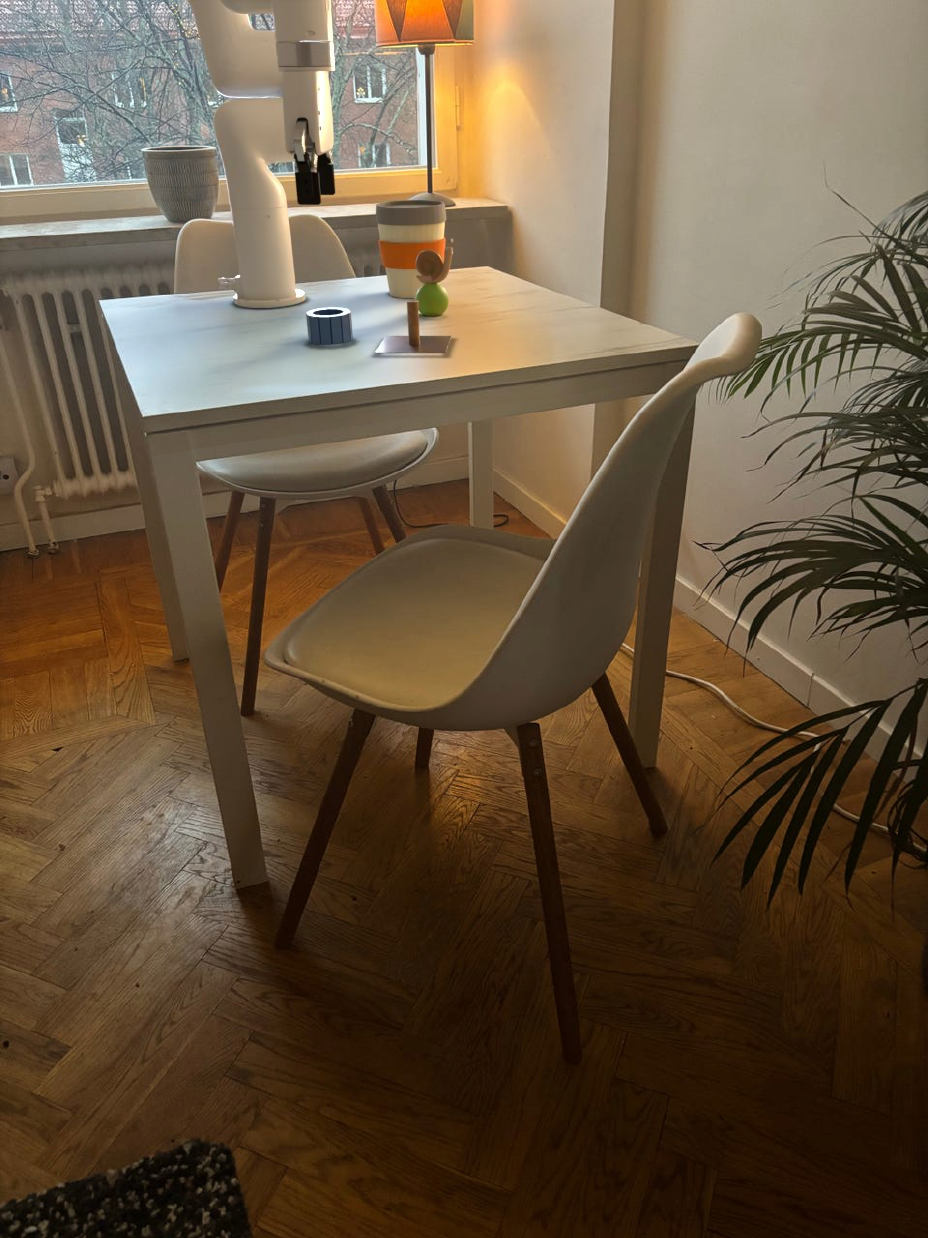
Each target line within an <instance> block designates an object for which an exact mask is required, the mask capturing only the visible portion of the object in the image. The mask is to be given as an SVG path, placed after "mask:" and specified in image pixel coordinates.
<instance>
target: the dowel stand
mask: <svg viewBox="0 0 928 1238" xmlns="http://www.w3.org/2000/svg"><path fill="white" fill-rule="evenodd" d="M406 313H407V314H406V315H407V334H408V335H384V337H383V339H382V340H381V342H380V344H379V345H378V347H377V348H376V350H375V352H374V353H375V354H446V353H447V350H448V348H449V344H450V342H451V340H452V337H453V336H452V335H420V314H419V313H420V312H419V310H418V301H417V300H415V299H409V300H407V301H406Z"/></svg>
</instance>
